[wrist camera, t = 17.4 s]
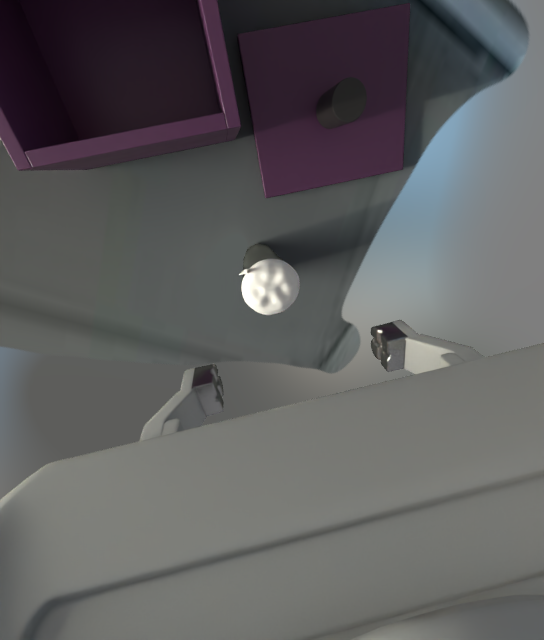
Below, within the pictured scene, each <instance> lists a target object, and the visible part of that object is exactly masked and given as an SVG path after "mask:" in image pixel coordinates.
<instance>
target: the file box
mask: <svg viewBox="0 0 544 640" xmlns="http://www.w3.org/2000/svg"><path fill="white" fill-rule="evenodd" d="M240 127H241V122H240V117H239V112H238V106H237V101H236V96H235V91H234V85H233V80H232V75H231V70H230V65H229V59H228V54H227V49H226V44H225V39H224V33H223V28H222V23H221V18H220V13H219V7H218V2H217V0H0V139H1V140H2V142H3V144H4V146H5V148H6V150H7V151H8V153H9V155H10V157H11V159H12V160H13V162H14V164H15V166H16V168H17V170H19V171H22V170H87V169H92V168H97V167H102V166H107V165H112V164H117V163H122V162H127V161H132V160H137V159H142V158H147V157H152V156H157V155H162V154H167V153H172V152H177V151H182V150H187V149H192V148H197V147H202V146H207V145H212V144H217V143H222V142H227V141H232V140H235V139H236V136H237V134H238V132H239V130H240Z"/></svg>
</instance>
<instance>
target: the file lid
mask: <svg viewBox="0 0 544 640" xmlns="http://www.w3.org/2000/svg"><path fill="white" fill-rule="evenodd" d="M409 20H410V3H407V4H401V5H396V6H390V7H385V8H379V9H374V10H368V11H363V12H357V13H352V14H346V15H341V16H335V17H330V18H324V19H318V20H313V21H307V22H302V23H296V24H291V25H285V26H280V27H274V28H269V29H263V30H258V31H252V32H247V33H241V34H238V36H237V39H238V45H239V50H240V56H241V62H242V67H243V73H244V79H245V85H246V90H247V96H248V102H249V108H250V113H251V119H252V125H253V130H254V136H255V142H256V148H257V153H258V159H259V165H260V171H261V176H262V182H263V188H264V193H265V198H270V197H274V196H279V195H284V194H289V193H294V192H298V191H303V190H308V189H313V188H317V187H322V186H327V185H332V184H336V183H341V182H346V181H351V180H355V179H360V178H365V177H370V176H374V175H379V174H384V173H389V172H393V171H398V170H402V169H403V157H404V134H405V111H406V88H407V65H408V42H409Z"/></svg>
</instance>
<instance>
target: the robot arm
mask: <svg viewBox="0 0 544 640" xmlns="http://www.w3.org/2000/svg"><path fill="white" fill-rule="evenodd" d="M371 335H372V336H373V337H374V338H373V339H372V341H371V348H372V351H373V354H374V355H375V357H376V358H377V359H379V360H381V364H382V366H383V367H384V368H385V369H386V371H387V372H389V371H394V370H399V369H403V368H404V369H405V370H407V371H409V372H411V373H413V374H414V375H410V376H406V377H402V378H398V379H394V380H390V381H385V382H382V383H378V384H373V385H369V386H365V387H361V388H357V389H353V390H348V391H344V392H340V393H336V394H332V395H328V396H324V397H320V398H316V399H311V400H307V401H303V402H300V403H295V404H291V405H287V406H283V407H278V408H275V409H270V410H266V411H262V412H258V413H254V414H250V415H246V416H241V417H238V418H233V419H229V420H225V421H221V422H217V423H213V424H208V425H204V426H201V425H202V423H203V422H204V420H205V419H206V416H209V415H213V414H216V413H220V412H223V399H222V396H223V385H222V381H221V378H220V377H219V376H218V369H217V367H216V365H215V364H211V365H206V366H202V367H197V368H192V369H188V370H186V371H185V372H184V376H183V381H182V386H181V391H180V392H177V393H176V394H175V395H174V396H173V397H172V398H171V399H170V400H169V401H168V402H167V403H166V404H165V405H164V406H163V407H162V408H161V409H160V410H159V411H158V412H157V414H155V415H154V416H153V417H152V418H151V419H150V420H149V421H148V422H147V423H146V424H145V425H144V428H143V432H142V435H141V438H140V441H138V442H134V443H130V444H126V445H122V446H118V447H114V448H110V449H106V450H101V451H98V452H93V453H89V454H85V455H81V456H77V457H72V458H68V459H63V460H59V461H56V462H52V463H49V464H47V465H45V466H43V467H42V468H41V469H39V470H38V471H36V472H35V473H34V474H32V475H31V476H29V477H28V478H27V479H25V480H24V481H23V482H22V483H20V484H19V485H18V486H17V487H16V488H14V489H13V490H12V491H10V492H9V493H8V494H7V495H5V496H4V497H3V498H2V499H1V500H0V640H544V343H542V344H538V345H534V346H529V347H526V348H521V349H517V350H513V351H509V352H505V353H501V354H497V355H493V356H488V357H484V356H483V355H481V354H480V353H479V352H477V351H476V350H475V349H473V348H472V347H469V346H466V345H462V344H458V343H454V342H450V341H446V340H442V339H439V338H435V337H431V336H427V335H423V334H420V335H419V334H418V333H416V332H415V331H414V330H413V329H412V328H410V327H409V326H408V325H407V324H406V323H405V322H403V321H402V320H397V321H393V322H390V323H387V324H383V325H379V326H375V327H372V328H371Z"/></svg>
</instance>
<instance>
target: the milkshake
mask: <svg viewBox="0 0 544 640" xmlns="http://www.w3.org/2000/svg"><path fill="white" fill-rule="evenodd" d="M241 274H243V279H242V294H243V297H244V300H245V301H246V303H247V304H248V305H249V306H250V307H251V308H252V309H253V310H255V311H256V312H258V313H261V314H264V315H272V314H276V313H279V312H282V311H284V310H286V309H287V308H289V307H290V306H291V305H292V303H293V302H294V301H295V299H296V298H297V295H298V292H299V287H300V281H299V277H298V274H297V272H296V271H295V270H294V268H293V267H292V266H290V265H289V264H288V263H287V262H286V261H284V260H283V259H282V258H280V257H279V256H278V255H277V254H276V253H275V252H274V251H273V250H272V249H271V248H269V247H268V246H267V245H266V244H255V245H253V246H252V247H250V248H248V249H247V251H246V253H245V256H244V259H243V271H242V272H241V273H240V275H241Z"/></svg>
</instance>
